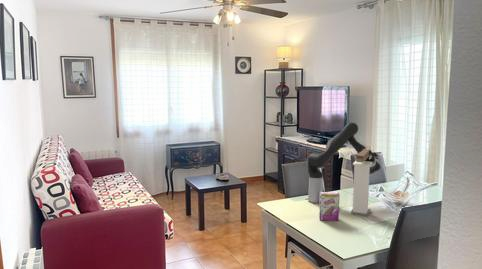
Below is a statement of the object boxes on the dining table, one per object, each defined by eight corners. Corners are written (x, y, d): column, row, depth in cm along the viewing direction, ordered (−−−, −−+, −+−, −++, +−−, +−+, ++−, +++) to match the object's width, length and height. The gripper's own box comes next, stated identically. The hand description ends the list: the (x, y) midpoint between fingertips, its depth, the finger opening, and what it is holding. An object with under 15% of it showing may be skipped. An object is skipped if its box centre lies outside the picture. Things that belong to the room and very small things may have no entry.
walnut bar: (363, 162, 214) (363, 155, 213) (356, 161, 216) (356, 155, 215) (370, 155, 235) (370, 149, 234) (363, 154, 237) (364, 148, 236)
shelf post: (367, 216, 222) (369, 165, 217) (350, 213, 226) (352, 163, 222) (370, 211, 230) (372, 161, 226) (354, 208, 235) (356, 160, 231)
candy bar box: (319, 220, 215) (320, 194, 213) (318, 217, 220) (319, 191, 218) (339, 221, 214) (339, 194, 212) (337, 218, 219) (338, 191, 217)
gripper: (359, 153, 250) (355, 144, 235) (381, 155, 243) (378, 146, 229) (357, 164, 247) (353, 155, 233) (379, 166, 240) (376, 157, 226)
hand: (365, 151), depth 231 cm, fingers closed on walnut bar, 4 cm apart
